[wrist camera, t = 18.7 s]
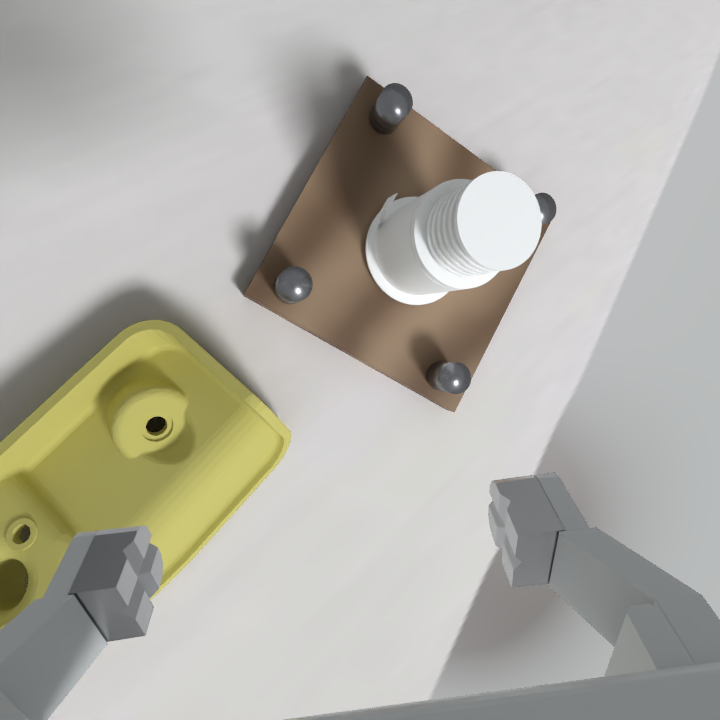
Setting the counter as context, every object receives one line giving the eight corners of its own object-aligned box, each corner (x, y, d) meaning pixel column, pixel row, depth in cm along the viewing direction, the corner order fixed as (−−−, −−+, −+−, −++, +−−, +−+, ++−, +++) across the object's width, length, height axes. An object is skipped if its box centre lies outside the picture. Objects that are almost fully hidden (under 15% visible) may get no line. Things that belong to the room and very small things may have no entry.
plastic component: (151, 302, 27) (280, 417, 25) (195, 347, 34) (299, 440, 32) (-168, 596, 23) (-46, 768, 21) (-43, 579, 30) (59, 706, 28)
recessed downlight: (338, 264, 31) (397, 236, 22) (390, 172, 32) (470, 105, 22) (436, 328, 33) (528, 328, 24) (482, 241, 34) (591, 207, 25)
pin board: (243, 295, 31) (246, 289, 27) (362, 85, 32) (379, 53, 29) (446, 409, 35) (472, 417, 31) (544, 217, 36) (578, 204, 33)
